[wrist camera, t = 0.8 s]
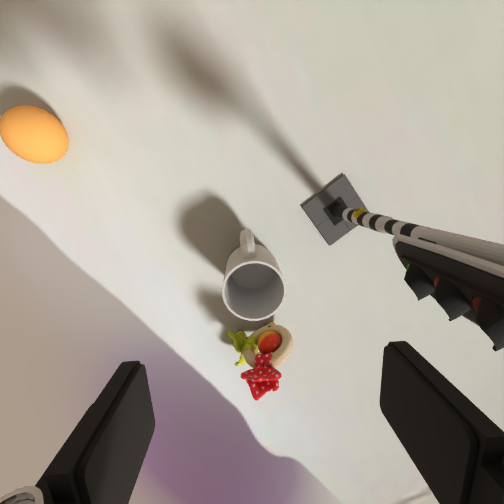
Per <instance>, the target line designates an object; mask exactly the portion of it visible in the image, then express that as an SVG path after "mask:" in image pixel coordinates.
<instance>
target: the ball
mask: <svg viewBox="0 0 504 504" xmlns="http://www.w3.org/2000/svg"><path fill="white" fill-rule="evenodd" d="M0 135H1V138H2V140H3V142H4V143H5V144H6V146H7V147H8V148H9V149H10V150H11V151H12V152H13V153H14V154H16V155H17V156H19V157H21V158H22V159H24V160H27V161H30V162H33V163H38V164H48V163H53V162H55V161H58V160H59V159H61V158H62V157H63V156H64V155H65V153H66V152H67V149H68V145H69V140H68V135H67V132H66V130H65V128H64V127H63V125H62V124H61V122H60V121H59V120H58V119H57V118H56V117H54V116H53V115H52V114H50V113H49V112H47V111H45V110H43V109H41V108H38V107H34V106H28V105H22V106H16V107H13V108H10V109H9V110H7V111H6V112H5V113H4V114H3V115H2V117H1V119H0Z"/></svg>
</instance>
